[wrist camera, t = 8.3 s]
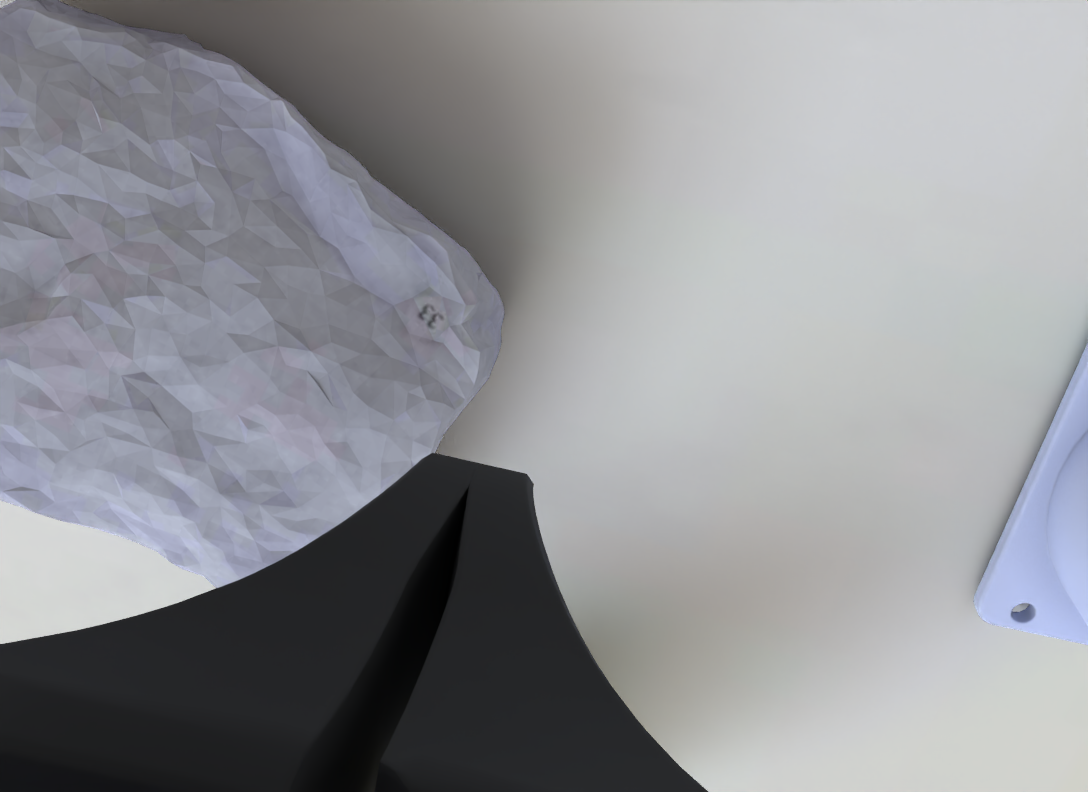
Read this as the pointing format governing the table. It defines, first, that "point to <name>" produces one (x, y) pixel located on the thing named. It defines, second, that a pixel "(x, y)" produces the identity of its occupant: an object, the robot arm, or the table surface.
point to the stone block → (209, 302)
